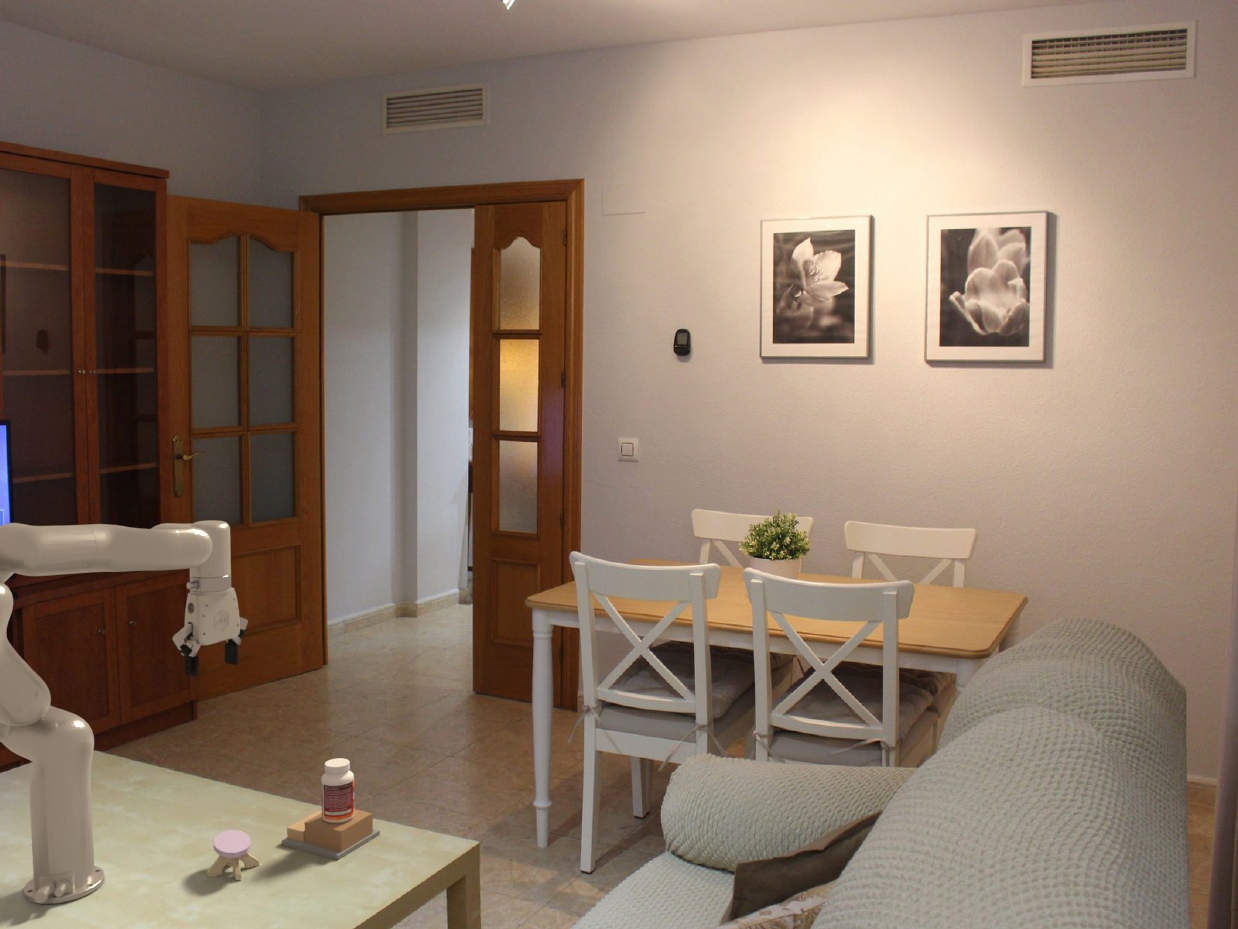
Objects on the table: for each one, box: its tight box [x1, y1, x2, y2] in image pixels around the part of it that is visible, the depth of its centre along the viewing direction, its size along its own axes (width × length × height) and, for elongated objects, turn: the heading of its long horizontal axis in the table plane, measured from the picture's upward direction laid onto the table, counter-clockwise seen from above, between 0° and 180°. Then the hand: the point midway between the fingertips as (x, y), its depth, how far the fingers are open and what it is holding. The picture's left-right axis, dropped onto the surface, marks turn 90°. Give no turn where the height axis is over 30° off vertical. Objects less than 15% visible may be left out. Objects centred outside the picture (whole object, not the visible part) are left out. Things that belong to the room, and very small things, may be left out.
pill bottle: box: [320, 757, 356, 823], centre depth 204 cm, size 6×6×11 cm
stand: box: [281, 808, 381, 860], centre depth 206 cm, size 14×12×5 cm
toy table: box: [206, 829, 260, 881], centre depth 193 cm, size 10×9×6 cm
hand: (212, 669), depth 209 cm, fingers open, 9 cm apart
